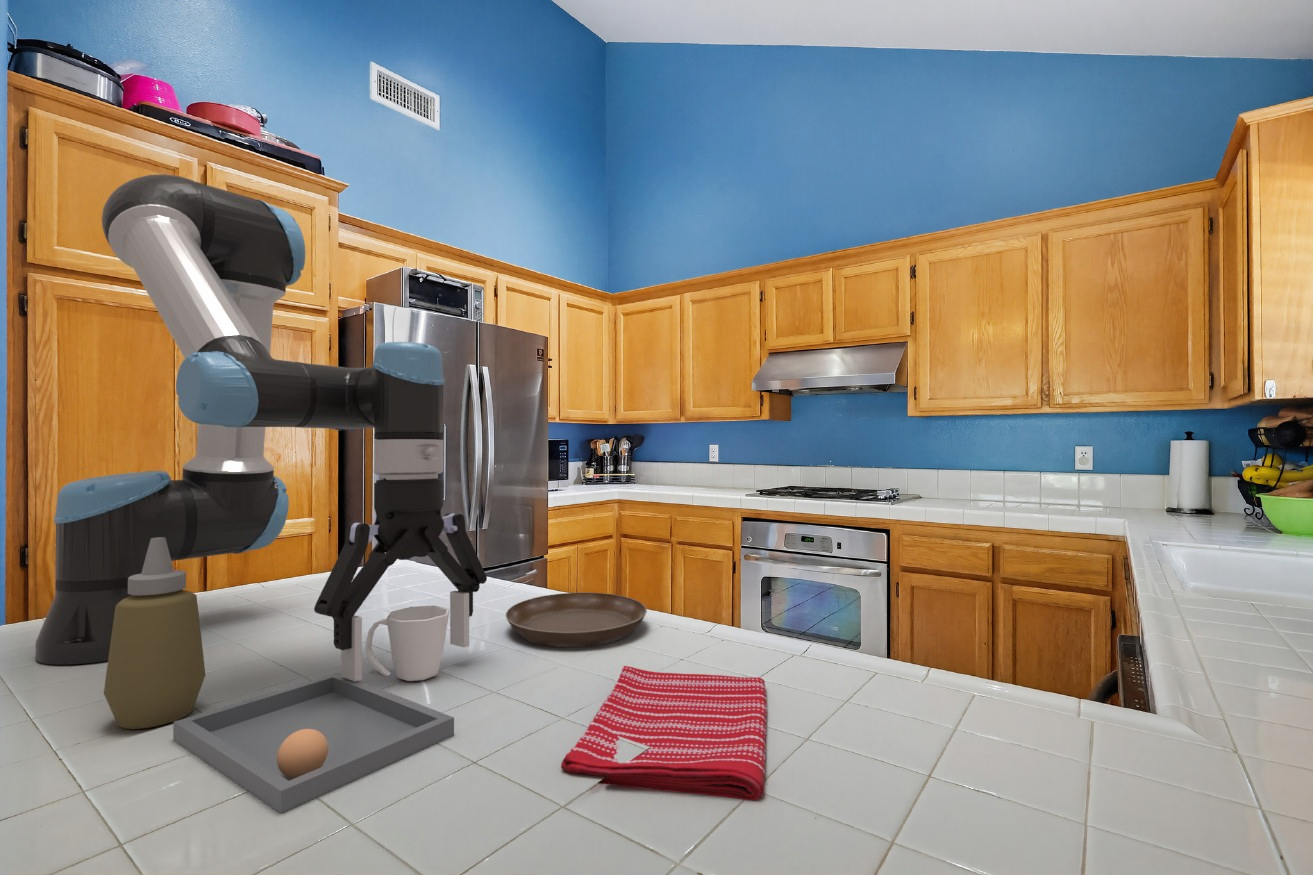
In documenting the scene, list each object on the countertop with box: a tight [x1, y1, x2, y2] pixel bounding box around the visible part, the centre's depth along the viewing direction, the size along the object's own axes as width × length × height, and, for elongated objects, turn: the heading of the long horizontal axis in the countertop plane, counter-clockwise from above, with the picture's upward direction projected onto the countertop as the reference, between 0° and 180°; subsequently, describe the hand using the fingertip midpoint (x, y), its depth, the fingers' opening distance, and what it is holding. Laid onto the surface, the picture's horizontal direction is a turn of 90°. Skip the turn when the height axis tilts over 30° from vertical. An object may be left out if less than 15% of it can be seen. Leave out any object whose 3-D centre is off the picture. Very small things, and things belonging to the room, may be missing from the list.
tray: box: [172, 672, 455, 815], centre depth 58 cm, size 20×15×2 cm
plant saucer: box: [505, 592, 648, 648], centre depth 94 cm, size 21×21×3 cm
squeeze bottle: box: [103, 537, 206, 730], centre depth 64 cm, size 8×8×18 cm
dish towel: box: [560, 665, 768, 802], centre depth 61 cm, size 17×24×3 cm
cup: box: [365, 605, 450, 682], centre depth 73 cm, size 7×10×8 cm
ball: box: [277, 729, 328, 779], centre depth 51 cm, size 4×4×4 cm
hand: (409, 661), depth 73 cm, fingers open, 13 cm apart
